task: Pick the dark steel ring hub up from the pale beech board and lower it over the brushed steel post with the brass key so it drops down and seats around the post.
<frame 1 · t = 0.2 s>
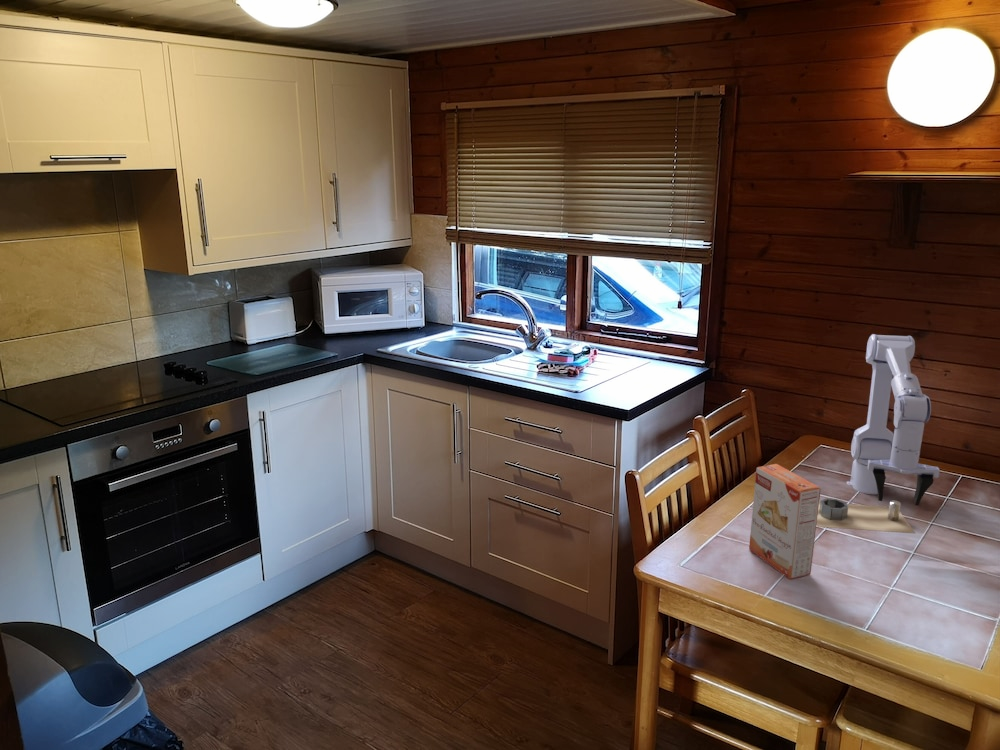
hand: (897, 501, 180), 10 cm above the table, tool pointing down, fingers open, 7 cm apart
cracker box: (778, 563, 173), on the table
ring hub: (832, 514, 192), point 1 cm above the table, touching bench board
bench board: (857, 521, 192), on the table
steel post: (892, 518, 190), resting on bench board
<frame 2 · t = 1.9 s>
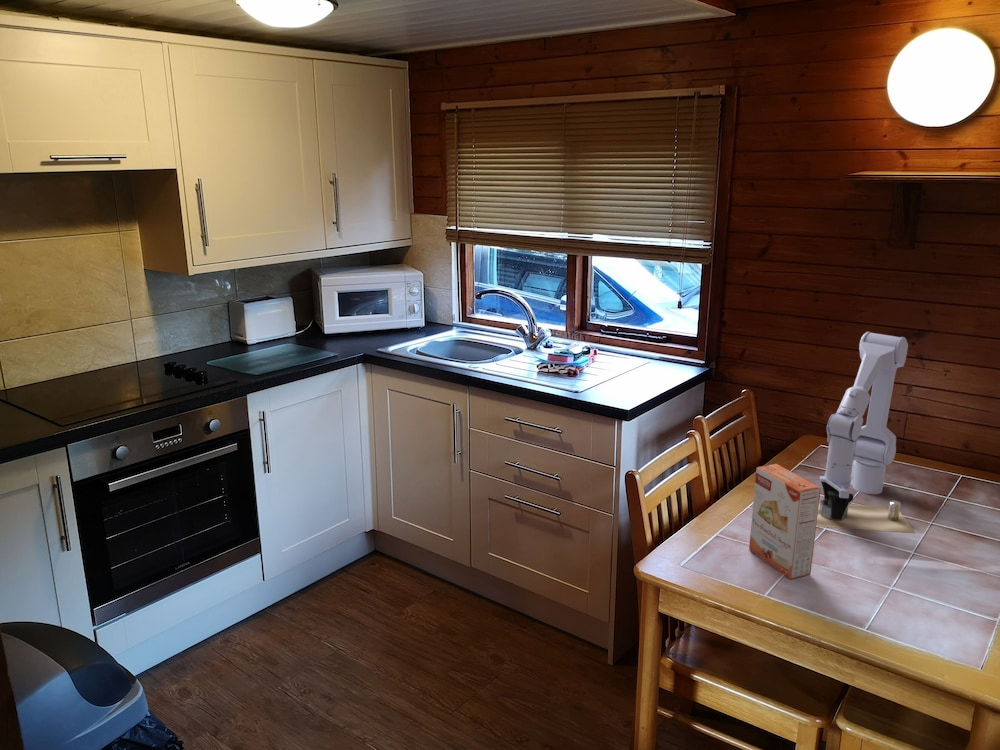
hand: (833, 512, 192), 2 cm above the table, tool pointing down, fingers closed on ring hub, 6 cm apart
ring hub: (832, 514, 192), point 1 cm above the table, touching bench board, gripper
everything else where it was.
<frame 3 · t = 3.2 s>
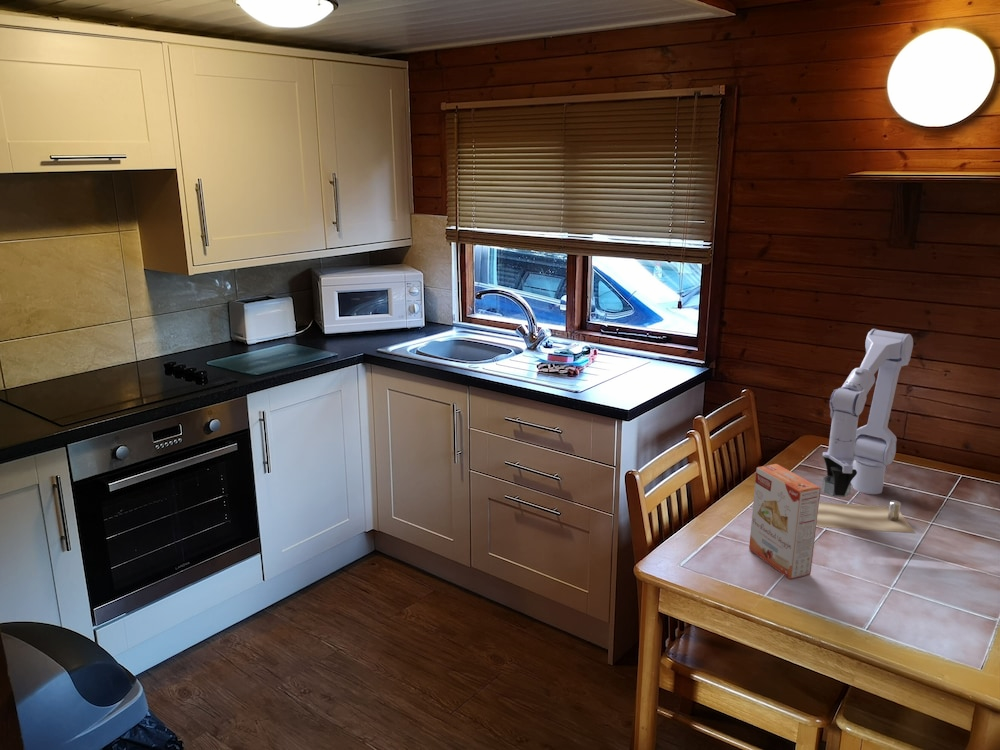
hand: (836, 489, 190), 8 cm above the table, tool pointing down, fingers closed on ring hub, 6 cm apart
ring hub: (835, 491, 191), point 7 cm above the table, touching gripper
everything else where it was.
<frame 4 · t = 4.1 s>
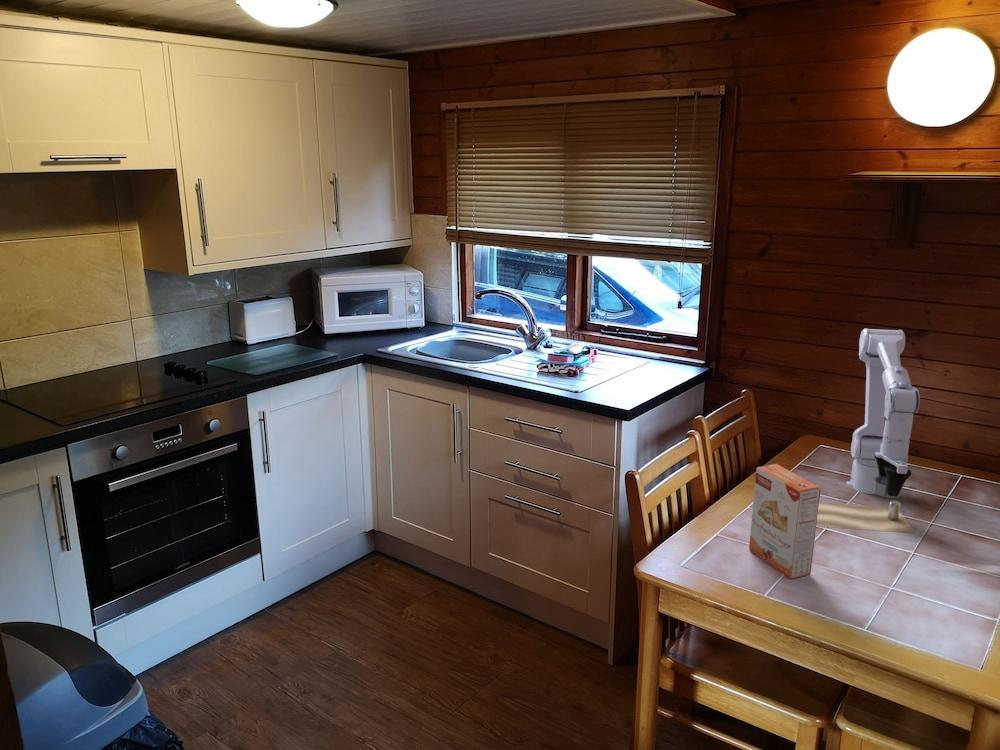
hand: (888, 489, 188), 9 cm above the table, tool pointing down, fingers closed on ring hub, 6 cm apart
ring hub: (886, 492, 189), point 8 cm above the table, touching gripper
everything else where it was.
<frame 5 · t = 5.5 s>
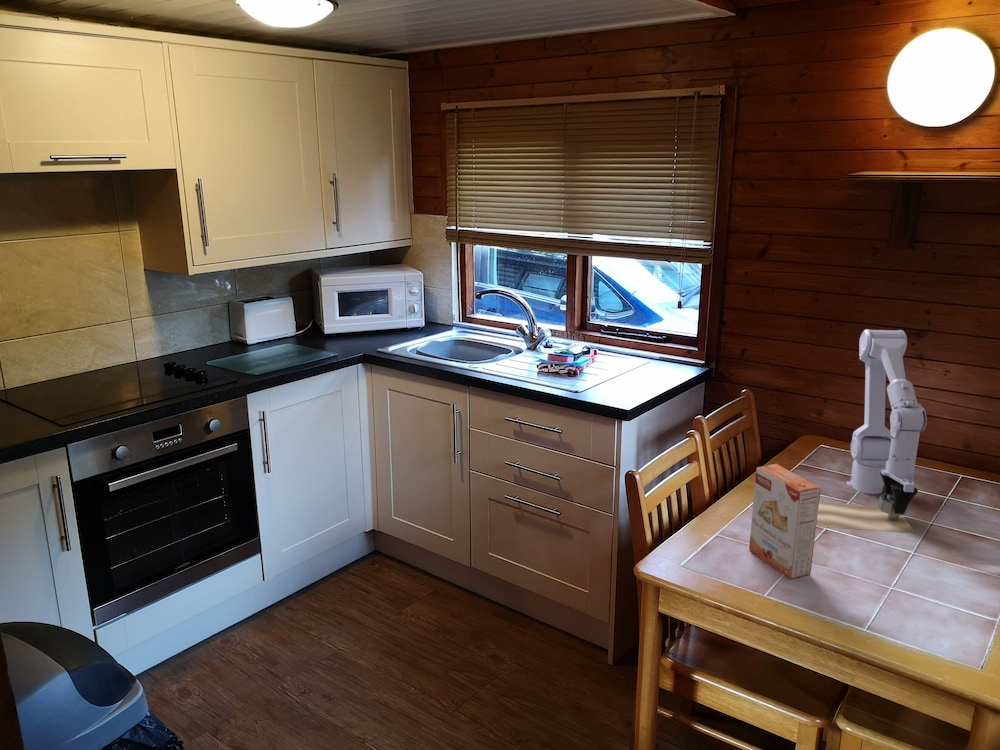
hand: (894, 507, 189), 4 cm above the table, tool pointing down, fingers closed on ring hub, 6 cm apart
ring hub: (892, 509, 190), point 4 cm above the table, touching gripper
everything else where it was.
when the fingers open (4 cm above the table, at t = 6.7 s): ring hub drops 2 cm, resting on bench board.
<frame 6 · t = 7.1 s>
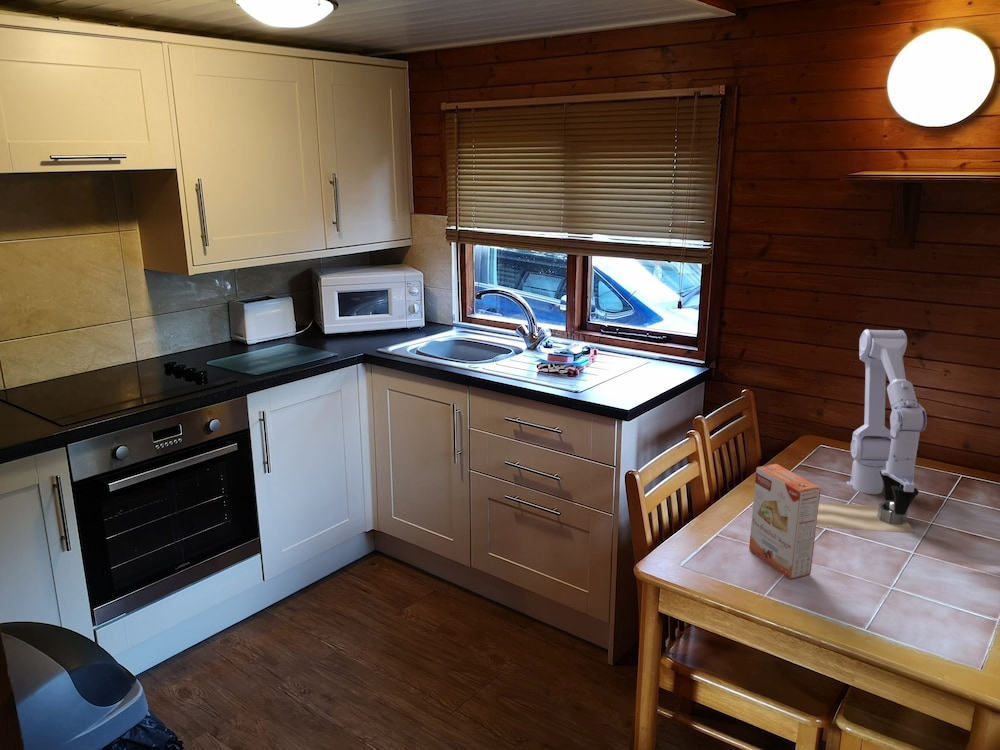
hand: (894, 507, 189), 4 cm above the table, tool pointing down, fingers open, 7 cm apart
ring hub: (891, 518, 190), point 1 cm above the table, touching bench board
everything else where it was.
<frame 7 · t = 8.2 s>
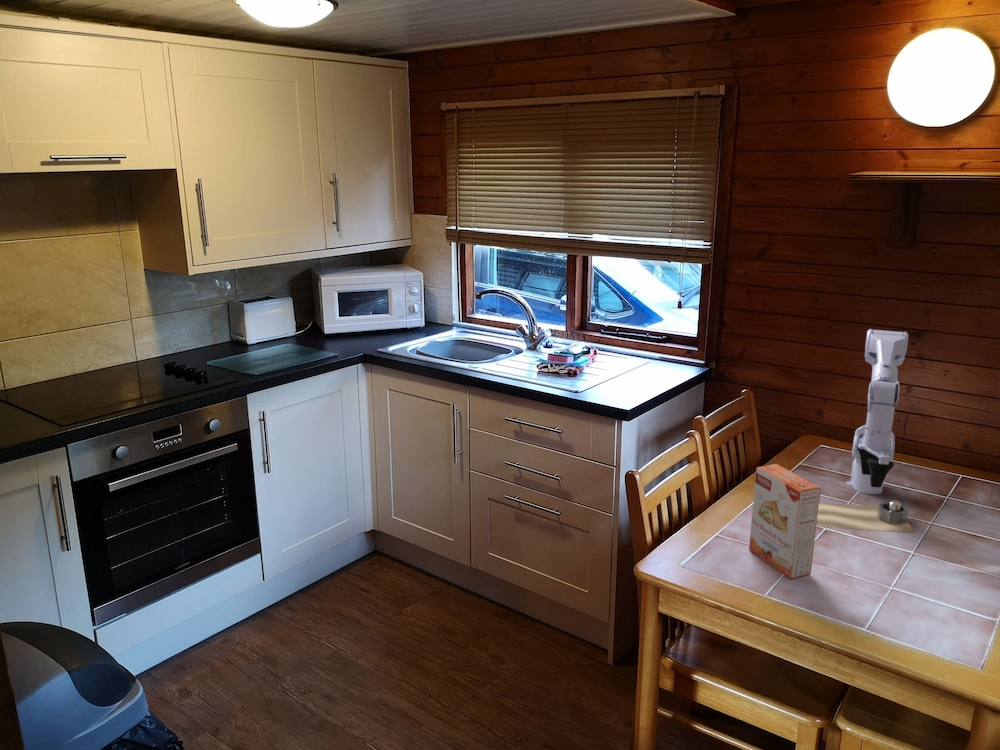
hand: (871, 480, 192), 9 cm above the table, tool pointing down, fingers open, 7 cm apart
nothing on the table moved.
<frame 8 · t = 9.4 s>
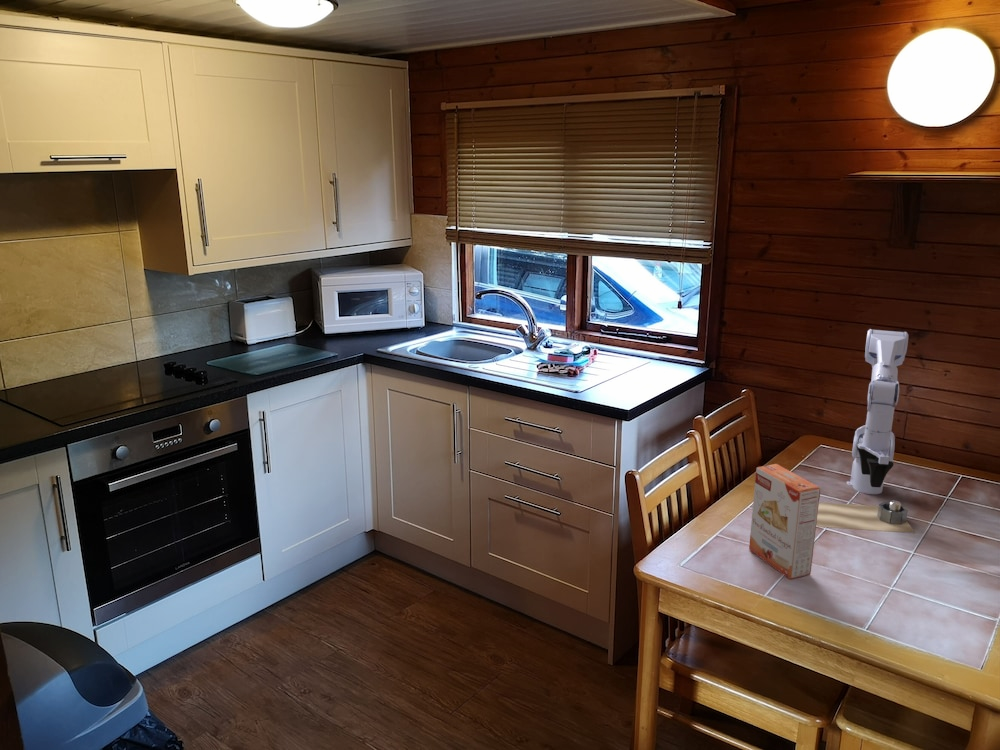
hand: (870, 480, 192), 9 cm above the table, tool pointing down, fingers open, 7 cm apart
nothing on the table moved.
at the end: ring hub 0.3 cm off-centre on the steel post, point 0.0 cm above the steel post's base; ring hub tilted 0°; the gripper is holding nothing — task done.
